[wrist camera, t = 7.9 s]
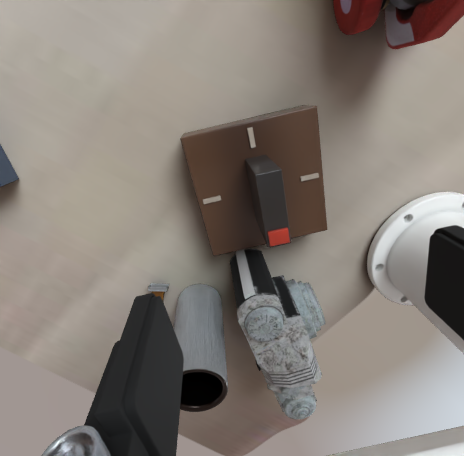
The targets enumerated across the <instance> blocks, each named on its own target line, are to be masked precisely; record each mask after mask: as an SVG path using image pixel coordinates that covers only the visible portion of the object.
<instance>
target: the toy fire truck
mask: <svg viewBox="0 0 464 456" xmlns="http://www.w3.org/2000/svg"><path fill="white" fill-rule="evenodd" d="M333 5H334V13H335V17H336V21H337V24H338V26H339V28H340V30H341V31H342V32H343V33H344V34H346V35H353V34H356V33H359V32H362V31H365V30H368V29H369V28H370V27H371V26H372V25H373V24H374V23H375V22H376V20H377V18H378V16H379V13H380V11H382V10H384V18H385V31H386V41H387V44H388V46H389V47H390V48H392V49H400V48H404V47H408V46H412V45H416V44H420V43H424V42H427V41H431V40H434V39H437V38H440V37H442V36H443V35H444V34H445V33H446V32H447V31H448V30H449V29H450V28H451V27H452V26H453V25H454V24H455V23H456V22H457V21H458V20H459V19H460V18H461V17H462V16H463V15H464V0H333Z"/></svg>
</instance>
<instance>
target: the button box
mask: <svg viewBox="0 0 464 456" xmlns="http://www.w3.org/2000/svg"><path fill="white" fill-rule="evenodd" d="M18 179H19V178H18V176H17V174H16V172H15V171H14V169H13V167H12V165H11V163H10V161H9V159H8V158H7V156H6V154H5V152H4V150H3V148H2V146H1V145H0V187H1V186H4V185H6V184H9V183H11V182H13V181H16V180H18Z"/></svg>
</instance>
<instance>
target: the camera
mask: <svg viewBox="0 0 464 456" xmlns="http://www.w3.org/2000/svg"><path fill="white" fill-rule="evenodd" d="M230 265H231V271H232V278H233V285H234V291H235V298H236V305H237V316H238V322H239V324H240V326H241V328H242V330H243V332H244V335H245V337H246V339H247V341H248V343H249V345H250V347H251V349H252V352H253V354H254V356H255V358H256V363H257V367H258V369H259V371H260V370H262V373H263V375H264V377H265V380H266V382H267V383H268V384H267V387H268V389H270V390H273V392H274V394H275V396H276V398H277V400H278V402H279V404H280V407H281V409H282V411H283V412H285V414H286V415H287V416H288V417H289V418H292V419H304V418H306V417H308V416H310V415H311V414H312V413H313V412H314V411H315V408H316V401H317V400H316V397H315V395H314V392H313V389H312V386H311V384H315V383H316V382H317V381H318V380H320V378H321V375H322V373H321V371H320V368H319V365H318V362H317V359H316V356H315V353H314V350H313V347H312V344H311V341H310V339H311V338H314V337H316V331H319V330H321V329H320V326H322V325H324V324H325V319H324V315H323V312H322V309H321V307H320V304H319V302H318V300H317V297H316V295H315V293H314V291H313V289H312V287H311V285H310V284H309V283H304V284H303V283H302V282H301V281H300V282H296V281H295V280H294V279H292V280H290V281H287V282H286V281H285V279H284V276H278V277H273V278H271V275H270V273H269V270H268V267H267V265H266V262H265V260H264V257H263V254H262V252H261V251H260V250H257V249H242V250H238V251H236V255H235V256H234V257H233V258H232V259H231V261H230Z"/></svg>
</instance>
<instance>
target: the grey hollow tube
mask: <svg viewBox="0 0 464 456" xmlns="http://www.w3.org/2000/svg"><path fill="white" fill-rule="evenodd" d="M174 331H175V334H176V337H177V339H178V342H179V344H180V347H181V349H182V352H183V358H184V365H183V377H182V389H181V401H180V409H181V410H184V411H189V412H200V411H206V410H209V409H211V408H214V407H215V406H217V405H219V404H220V403H221V402H222V401H223V400H224V398H225V397H226V395H227V392H228V380H227V367H226V354H225V341H224V328H223V315H222V302H221V297H220V294H219V293H218V291H217V290H216V289H214V288H213V287H211V286H209V285H205V284H195V285H191V286H189V287H187V288H185V289H184V290H183V291H182V292H181V294H180V295H179V298H178V302H177V309H176V316H175V323H174Z"/></svg>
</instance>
